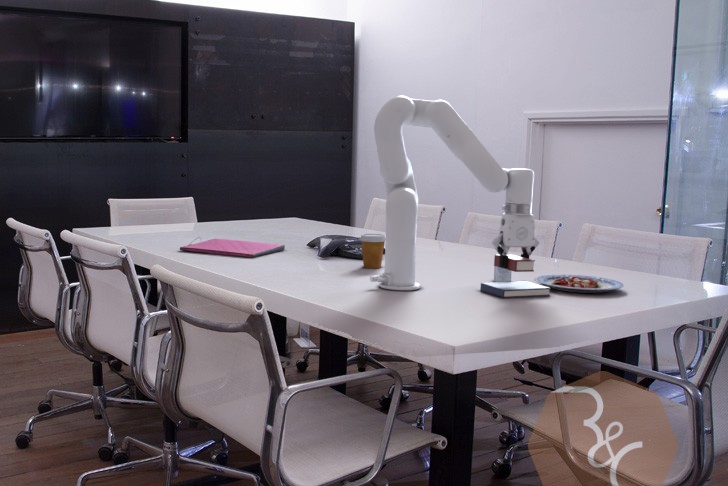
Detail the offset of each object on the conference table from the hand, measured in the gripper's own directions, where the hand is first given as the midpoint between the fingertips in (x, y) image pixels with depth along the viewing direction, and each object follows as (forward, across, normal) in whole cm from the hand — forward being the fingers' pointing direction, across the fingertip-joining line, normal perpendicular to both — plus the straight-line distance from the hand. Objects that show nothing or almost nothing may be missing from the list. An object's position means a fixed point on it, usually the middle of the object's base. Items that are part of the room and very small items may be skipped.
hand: (513, 267), depth 233 cm
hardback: (+8, +1, 0) cm, 8 cm away
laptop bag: (+11, -61, +112) cm, 128 cm away
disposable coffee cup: (+9, -20, +57) cm, 61 cm away
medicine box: (+8, +8, +17) cm, 20 cm away
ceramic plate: (+8, +26, +3) cm, 27 cm away
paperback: (0, 0, 0) cm, 0 cm away
